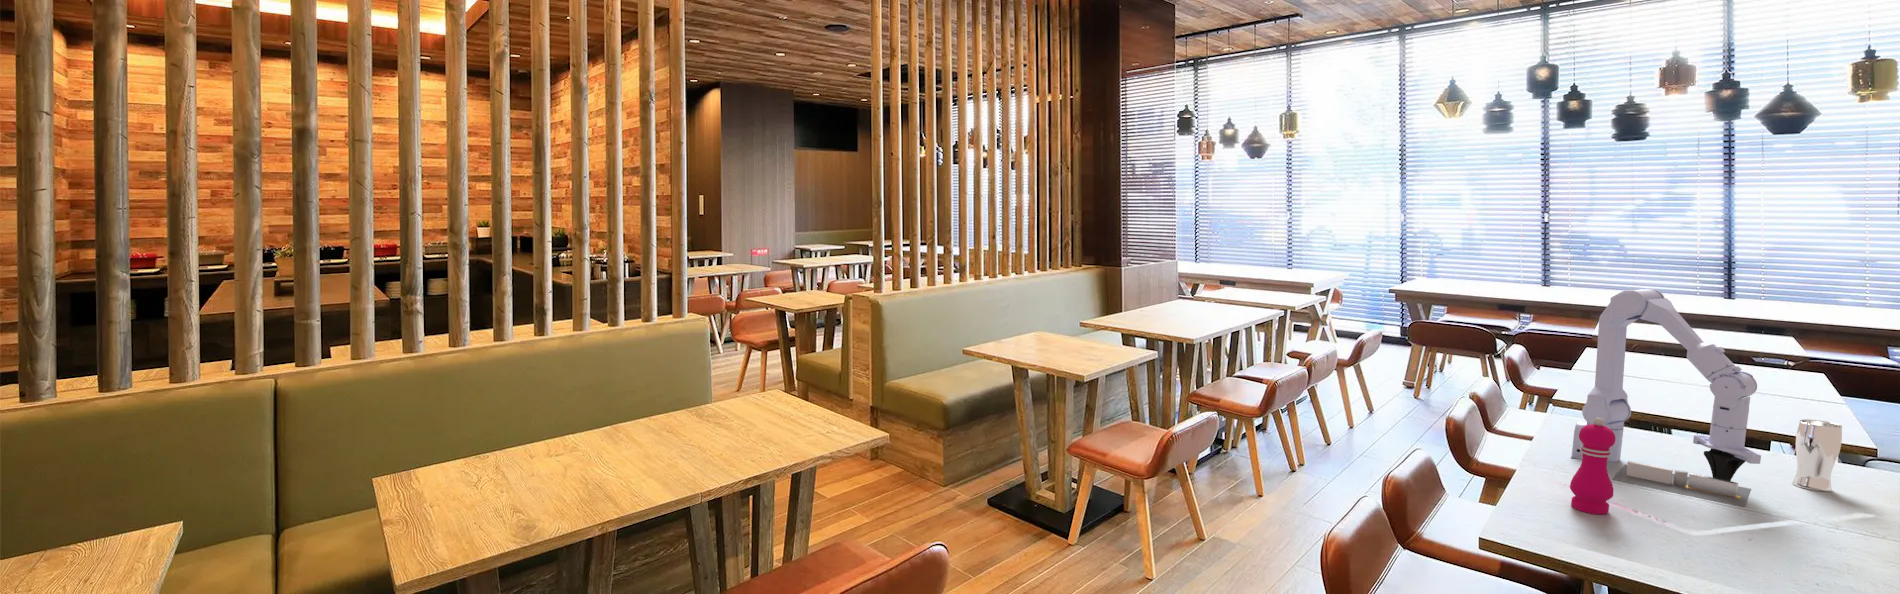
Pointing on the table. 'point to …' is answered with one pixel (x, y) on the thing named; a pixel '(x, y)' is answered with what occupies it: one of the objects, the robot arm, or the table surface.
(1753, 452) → the robot arm
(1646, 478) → the mat
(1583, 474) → the pepper mill
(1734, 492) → the hinge leaf
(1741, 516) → the table surface
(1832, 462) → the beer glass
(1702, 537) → the table surface
